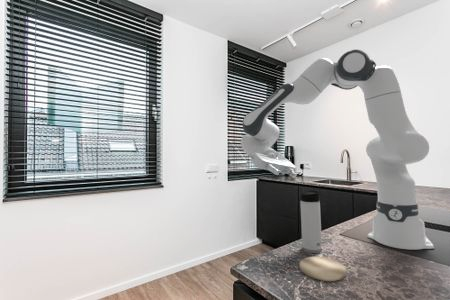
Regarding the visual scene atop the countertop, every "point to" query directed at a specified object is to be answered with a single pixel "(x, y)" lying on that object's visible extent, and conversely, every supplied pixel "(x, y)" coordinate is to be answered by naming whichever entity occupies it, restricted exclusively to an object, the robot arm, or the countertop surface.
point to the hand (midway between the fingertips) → (286, 174)
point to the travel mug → (311, 221)
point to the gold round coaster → (322, 268)
